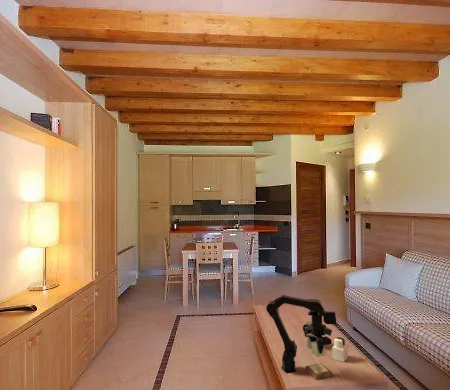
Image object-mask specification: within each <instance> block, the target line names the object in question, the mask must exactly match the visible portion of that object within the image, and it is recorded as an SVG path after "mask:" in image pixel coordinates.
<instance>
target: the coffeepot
mask: <svg viewBox="0 0 450 390" xmlns="http://www.w3.org/2000/svg"><path fill="white" fill-rule="evenodd" d="M310 324H312V318H311V320H309V321H308V320H307V321H306V322H305V324H303V326H302V330H303V334H304V336H305V338H307V339H306V347H307V348H308V349H310V350H312V345H311V341H310V340H309V338H308V336H307V334H305V333H304V330H305V328H310V327H311V326H310ZM308 335H309V333H308ZM317 341H318V338H317Z"/></svg>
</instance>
